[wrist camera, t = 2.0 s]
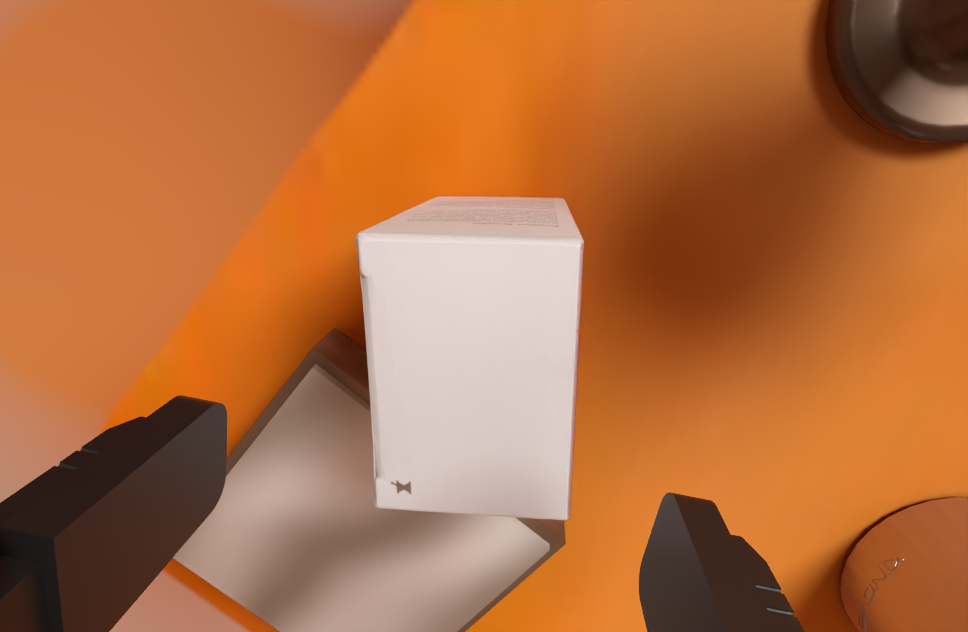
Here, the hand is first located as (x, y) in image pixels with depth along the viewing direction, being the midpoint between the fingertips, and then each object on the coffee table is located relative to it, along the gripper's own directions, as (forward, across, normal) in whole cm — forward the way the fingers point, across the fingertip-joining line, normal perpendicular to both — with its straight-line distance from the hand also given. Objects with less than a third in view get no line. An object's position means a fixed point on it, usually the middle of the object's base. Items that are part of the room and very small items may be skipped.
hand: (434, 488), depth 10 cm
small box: (+15, 0, 0) cm, 15 cm away
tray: (+15, +4, +13) cm, 20 cm away
